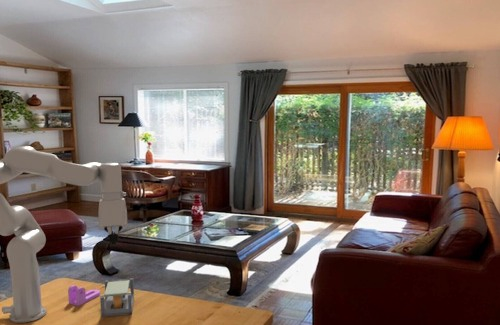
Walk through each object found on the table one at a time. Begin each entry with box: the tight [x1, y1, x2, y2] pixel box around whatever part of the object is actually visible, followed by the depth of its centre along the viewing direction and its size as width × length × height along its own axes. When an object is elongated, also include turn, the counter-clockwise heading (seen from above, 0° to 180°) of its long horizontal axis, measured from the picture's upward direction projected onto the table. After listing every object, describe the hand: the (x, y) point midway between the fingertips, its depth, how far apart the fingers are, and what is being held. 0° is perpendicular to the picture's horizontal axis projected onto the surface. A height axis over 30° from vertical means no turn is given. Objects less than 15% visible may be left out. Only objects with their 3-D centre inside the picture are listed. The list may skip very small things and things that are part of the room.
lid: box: [99, 278, 131, 298], centre depth 174 cm, size 11×15×1 cm
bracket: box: [67, 284, 101, 307], centre depth 183 cm, size 13×6×7 cm, turn 154°
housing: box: [99, 277, 135, 318], centre depth 175 cm, size 11×15×8 cm
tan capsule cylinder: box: [113, 295, 122, 309], centre depth 171 cm, size 3×3×6 cm
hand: (114, 243), depth 168 cm, fingers closed
